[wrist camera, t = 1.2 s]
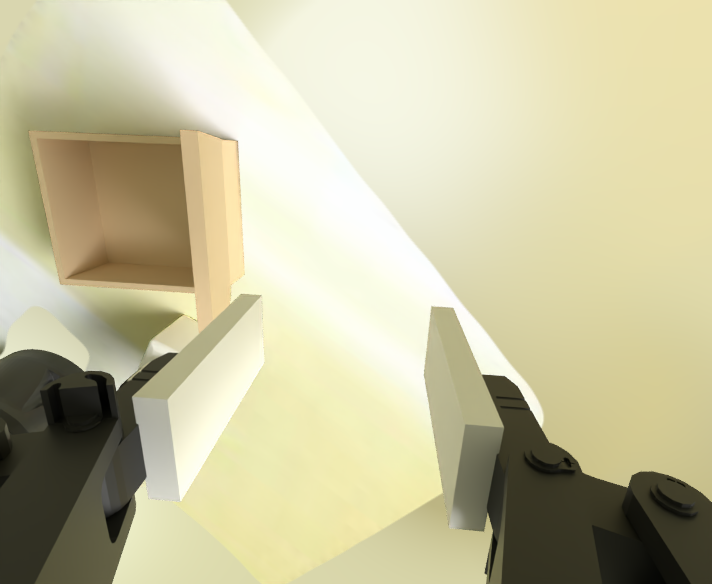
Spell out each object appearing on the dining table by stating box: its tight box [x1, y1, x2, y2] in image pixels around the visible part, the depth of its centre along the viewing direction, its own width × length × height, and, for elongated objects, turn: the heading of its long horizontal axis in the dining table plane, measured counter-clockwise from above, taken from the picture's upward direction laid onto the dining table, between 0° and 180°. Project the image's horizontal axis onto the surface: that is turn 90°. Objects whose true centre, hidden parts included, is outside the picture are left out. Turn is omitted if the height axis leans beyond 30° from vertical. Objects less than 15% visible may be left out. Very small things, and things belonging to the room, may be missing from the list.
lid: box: [180, 130, 231, 333], centre depth 29 cm, size 16×14×1 cm
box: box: [28, 131, 245, 293], centre depth 40 cm, size 16×14×7 cm
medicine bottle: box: [118, 315, 199, 390], centre depth 43 cm, size 7×7×12 cm
